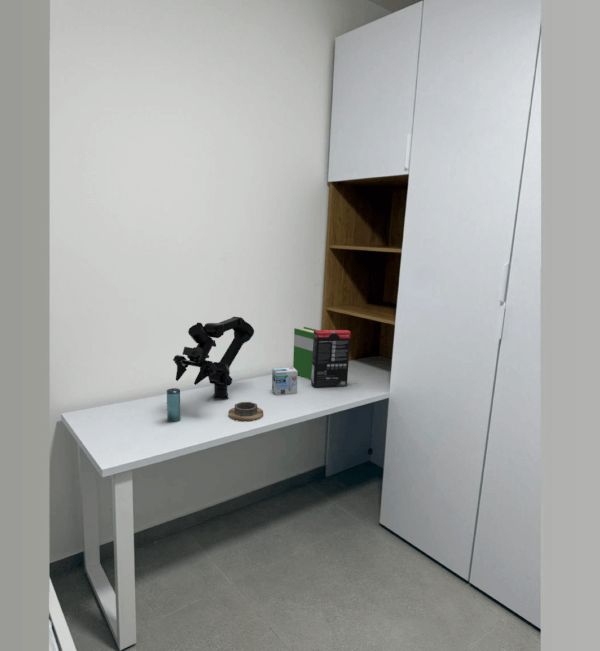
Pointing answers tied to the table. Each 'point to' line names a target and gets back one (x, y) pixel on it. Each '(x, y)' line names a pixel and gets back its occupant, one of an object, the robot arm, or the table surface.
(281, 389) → the light bulb box
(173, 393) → the ball
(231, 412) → the socket dock
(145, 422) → the table surface
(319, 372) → the graphics card box
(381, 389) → the table surface
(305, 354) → the hardback book
